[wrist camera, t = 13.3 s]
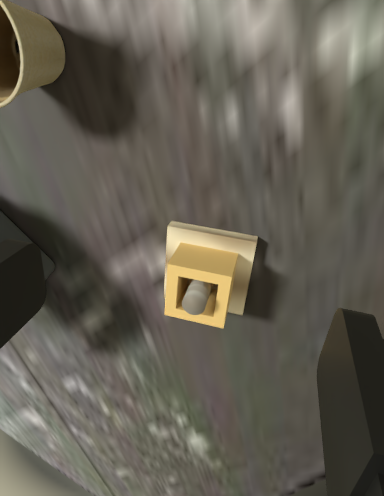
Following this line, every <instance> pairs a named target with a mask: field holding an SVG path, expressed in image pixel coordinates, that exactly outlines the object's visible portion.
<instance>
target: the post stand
mask: <svg viewBox="0 0 384 496" xmlns="http://www.w3.org/2000/svg"><path fill="white" fill-rule="evenodd" d="M257 239H258V236H253V235H247V234H241V233H236V232H230V231H225V230H219V229H214V228H208V227H203V226H197V225H192V224H186V223H181V222H175V221H171V222H170V224H169V225H168V228H167V247H166V265H165V284H164V298H166V281H167V264H168V262H169V261H170V259H171V257H172V256H173V254H174V252H175V251H176V249H177V248H178V246H179V244H180V243H181V242H182V243H187V244H192V245H197V246H203V247H208V248H213V249H218V250H224V251H229V252H234V253H238V258H237V264H236V270H235V276H234V282H233V287H232V293H231V299H230V304H229V308H228V312H230V313H235V314H239V315H243V311H244V305H245V300H246V295H247V290H248V285H249V280H250V275H251V270H252V265H253V260H254V254H255V249H256V244H257ZM187 284H190V285H189V287H188V289H187V291H186V294H185V296H184V298H183V300H182V307H183V309H184V310H185V311H186V312H187V313H189V314H191V315H199V314H201V313H203V312H204V310H205V307H206V304H207V301H208V298H209V295H210V292H211V290H212V289H215V290H218V284H213V283H208V282H204V281H199V280H194V279H189V278H188V282H187Z"/></svg>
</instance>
